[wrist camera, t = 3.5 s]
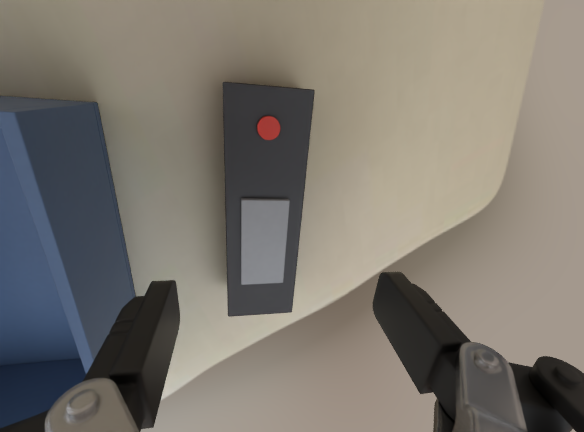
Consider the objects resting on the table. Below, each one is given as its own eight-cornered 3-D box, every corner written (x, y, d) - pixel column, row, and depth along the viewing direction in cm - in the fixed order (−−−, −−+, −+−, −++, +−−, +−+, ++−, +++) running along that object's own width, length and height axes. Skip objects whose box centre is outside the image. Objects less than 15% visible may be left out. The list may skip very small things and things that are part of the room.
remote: (229, 285, 22) (227, 320, 19) (225, 82, 16) (222, 81, 13) (285, 283, 23) (292, 315, 20) (301, 89, 17) (316, 89, 14)
